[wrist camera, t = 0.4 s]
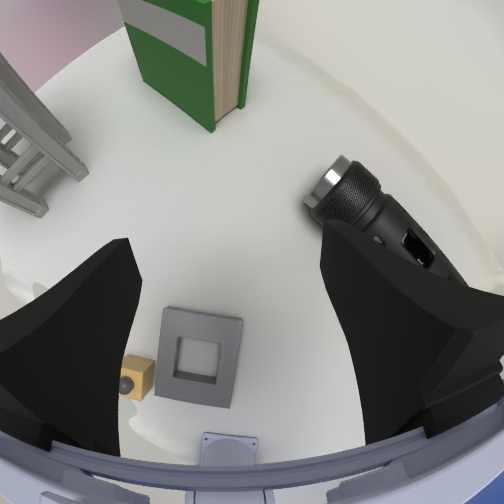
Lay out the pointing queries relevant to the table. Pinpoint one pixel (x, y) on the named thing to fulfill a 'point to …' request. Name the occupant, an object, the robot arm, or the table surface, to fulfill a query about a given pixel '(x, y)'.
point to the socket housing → (205, 330)
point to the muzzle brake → (375, 215)
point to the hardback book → (194, 51)
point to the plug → (136, 377)
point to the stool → (38, 134)
